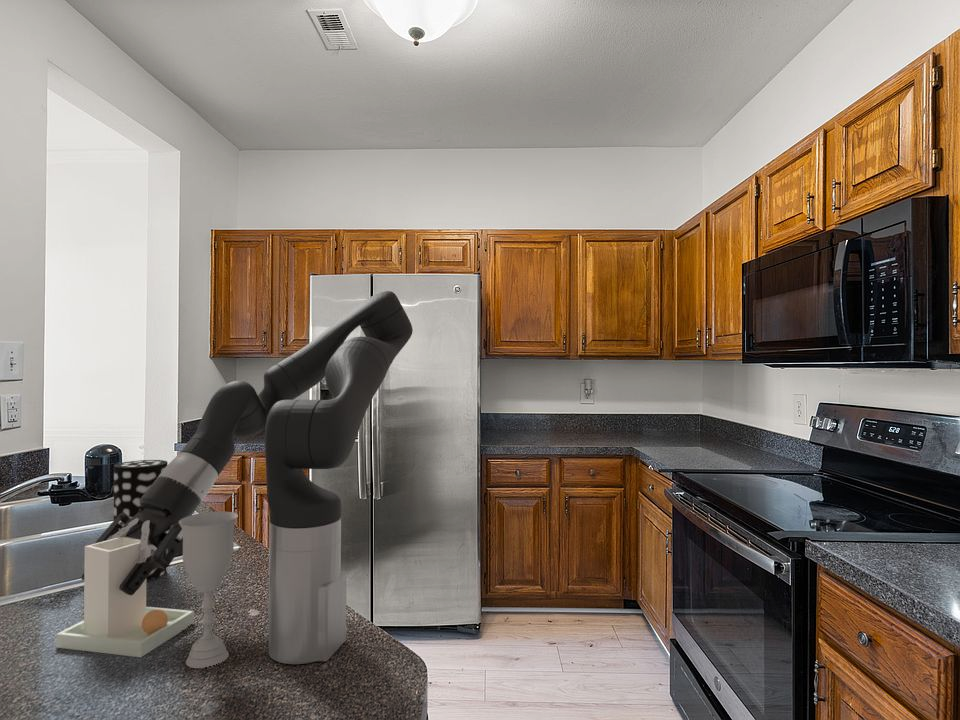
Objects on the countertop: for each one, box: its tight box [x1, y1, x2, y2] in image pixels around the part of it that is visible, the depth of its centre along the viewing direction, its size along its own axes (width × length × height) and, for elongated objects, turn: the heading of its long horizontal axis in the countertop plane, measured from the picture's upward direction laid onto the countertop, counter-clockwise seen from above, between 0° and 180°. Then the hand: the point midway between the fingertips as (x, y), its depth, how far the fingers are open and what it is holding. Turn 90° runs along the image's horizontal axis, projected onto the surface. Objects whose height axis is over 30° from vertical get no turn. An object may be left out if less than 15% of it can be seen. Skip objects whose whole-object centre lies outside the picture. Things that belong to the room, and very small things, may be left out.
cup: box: [83, 537, 147, 638], centre depth 83 cm, size 5×5×12 cm
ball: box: [142, 609, 168, 635], centre depth 81 cm, size 3×3×3 cm
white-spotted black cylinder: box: [112, 459, 169, 582], centre depth 105 cm, size 8×8×20 cm
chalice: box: [179, 511, 239, 669], centre depth 76 cm, size 7×7×18 cm
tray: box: [55, 605, 195, 658], centre depth 82 cm, size 13×10×2 cm
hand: (105, 587), depth 81 cm, fingers open, 8 cm apart
